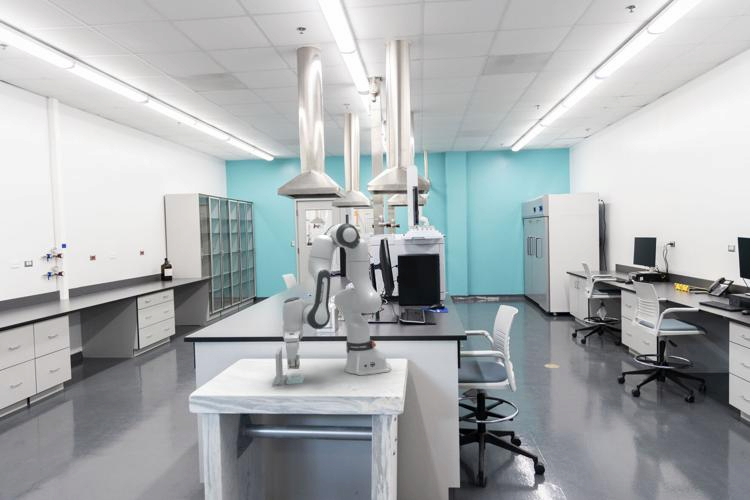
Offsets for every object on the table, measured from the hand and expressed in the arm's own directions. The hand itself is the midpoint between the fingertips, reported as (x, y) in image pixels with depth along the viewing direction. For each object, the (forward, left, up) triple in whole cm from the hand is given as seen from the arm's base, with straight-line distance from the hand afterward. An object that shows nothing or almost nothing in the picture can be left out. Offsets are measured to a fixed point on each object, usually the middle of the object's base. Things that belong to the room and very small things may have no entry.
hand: (293, 364), depth 205 cm
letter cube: (0, 0, -2) cm, 2 cm away
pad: (0, 0, -8) cm, 8 cm away
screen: (+7, -1, -8) cm, 10 cm away
